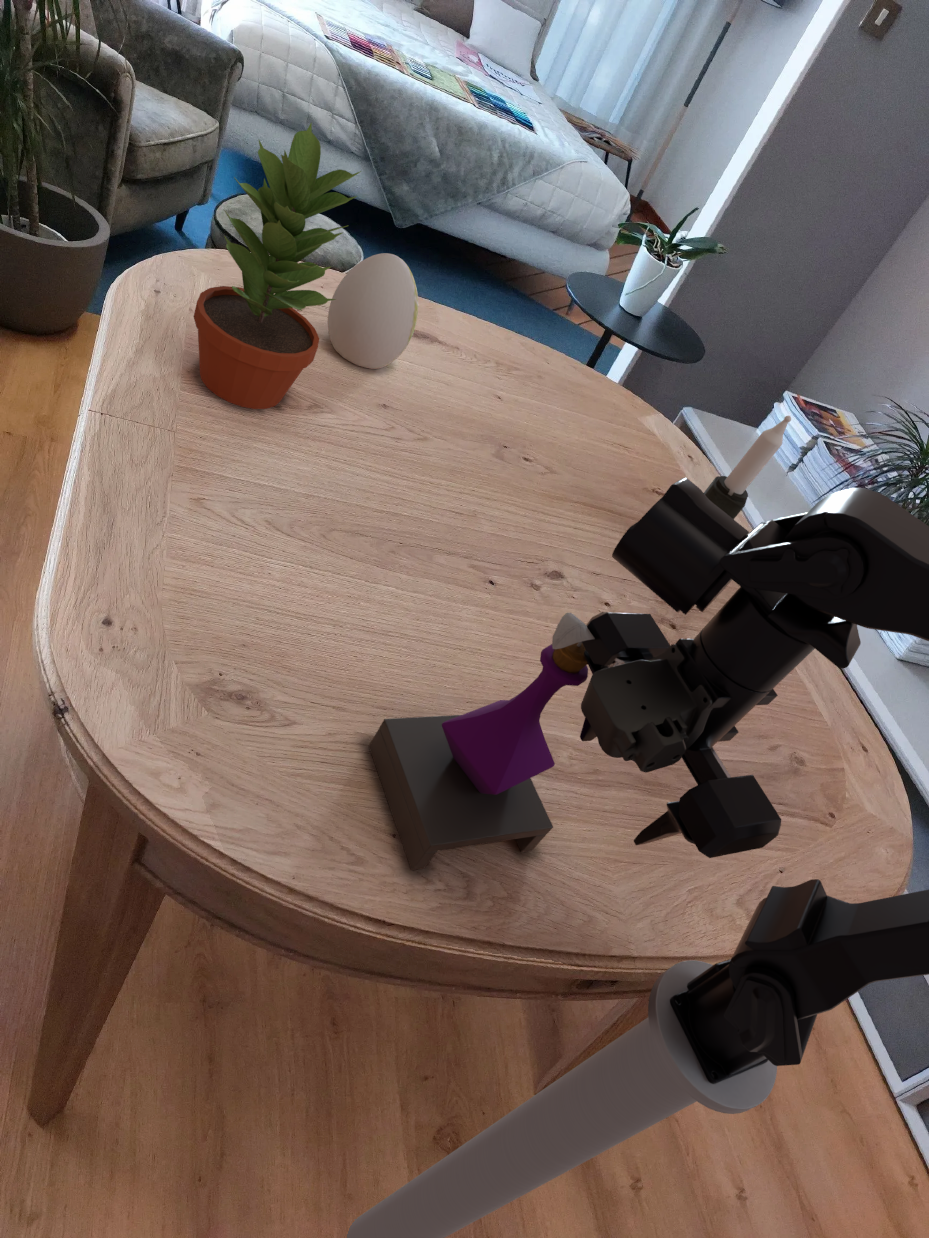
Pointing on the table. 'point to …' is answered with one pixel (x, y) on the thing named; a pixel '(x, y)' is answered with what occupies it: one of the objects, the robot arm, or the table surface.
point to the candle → (745, 471)
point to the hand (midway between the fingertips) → (610, 788)
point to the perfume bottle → (518, 718)
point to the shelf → (447, 795)
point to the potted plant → (270, 283)
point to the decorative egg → (374, 311)
